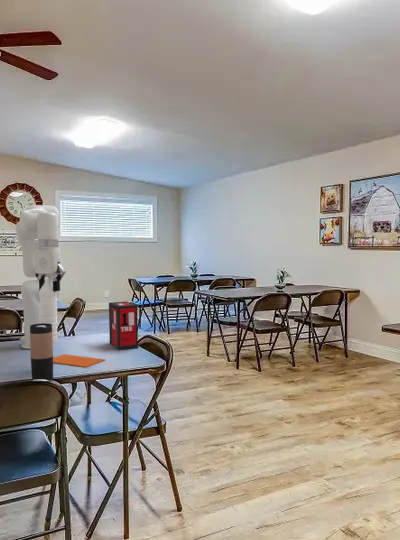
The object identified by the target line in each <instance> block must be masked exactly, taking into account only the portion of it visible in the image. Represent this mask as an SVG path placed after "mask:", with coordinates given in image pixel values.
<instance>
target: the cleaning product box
mask: <svg viewBox="0 0 400 540" xmlns="http://www.w3.org/2000/svg"><path fill="white" fill-rule="evenodd" d="M138 327H139V326H138V305H137V304H135V303H132V302H129V301H127V300H125V301H112V302H108V329H109V330H108V331H109V344H110V345H112V346H113V347H114V348H116V349H117V350H118V351H124V350H125V351H126V350H133V349H139V331H138V330H139V329H138Z"/></svg>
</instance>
